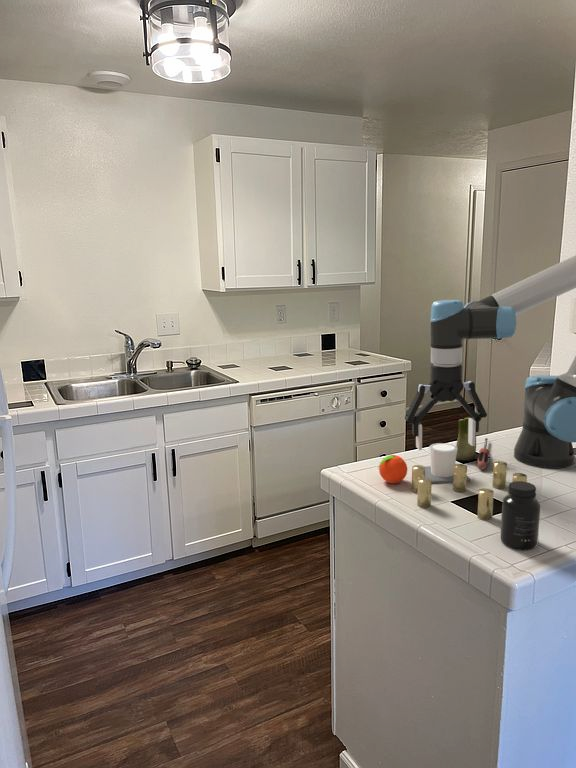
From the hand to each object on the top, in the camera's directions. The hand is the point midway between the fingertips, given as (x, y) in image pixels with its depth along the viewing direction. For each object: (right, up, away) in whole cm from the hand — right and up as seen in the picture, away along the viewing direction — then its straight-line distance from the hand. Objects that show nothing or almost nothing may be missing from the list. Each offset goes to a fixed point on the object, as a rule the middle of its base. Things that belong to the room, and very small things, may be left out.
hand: (445, 446), depth 146 cm
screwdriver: (+15, -5, +15) cm, 21 cm away
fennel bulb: (+9, -5, +12) cm, 16 cm away
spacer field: (+2, -11, -15) cm, 19 cm away
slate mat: (0, -8, +2) cm, 8 cm away
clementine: (-14, -9, -2) cm, 17 cm away
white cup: (0, -7, +2) cm, 7 cm away
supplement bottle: (+5, -15, -33) cm, 37 cm away
